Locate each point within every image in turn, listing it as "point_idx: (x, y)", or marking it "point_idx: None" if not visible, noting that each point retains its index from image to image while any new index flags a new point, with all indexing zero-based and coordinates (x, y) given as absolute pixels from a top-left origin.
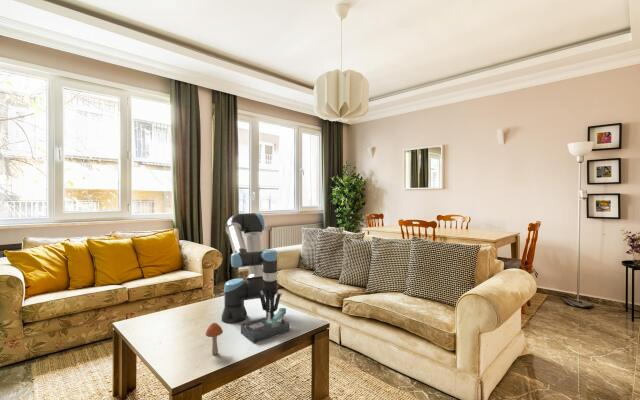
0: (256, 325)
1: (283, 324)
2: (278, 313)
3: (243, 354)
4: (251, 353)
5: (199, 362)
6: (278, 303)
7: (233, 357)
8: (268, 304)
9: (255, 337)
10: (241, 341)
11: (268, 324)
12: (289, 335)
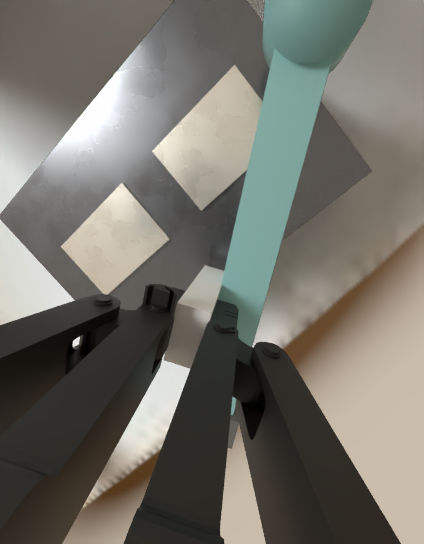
0: (109, 244)
1: (315, 214)
2: (273, 157)
3: (139, 422)
4: (170, 418)
5: None
6: (338, 452)
7: None
8: (127, 415)
9: None
10: None
11: None
12: (343, 239)
